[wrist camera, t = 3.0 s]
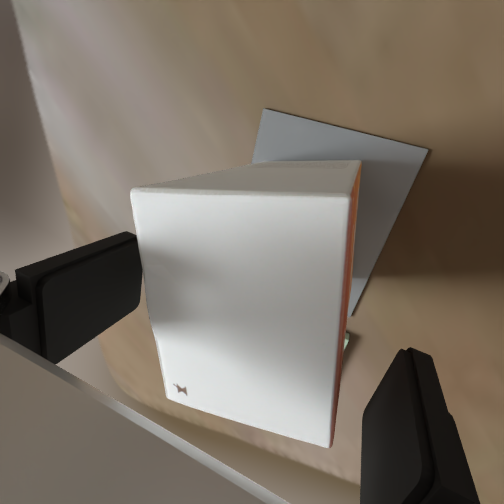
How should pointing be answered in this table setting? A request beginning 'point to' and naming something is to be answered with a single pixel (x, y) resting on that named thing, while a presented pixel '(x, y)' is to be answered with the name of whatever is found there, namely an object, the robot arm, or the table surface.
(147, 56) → the table surface
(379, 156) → the slate tile
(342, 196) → the small box
